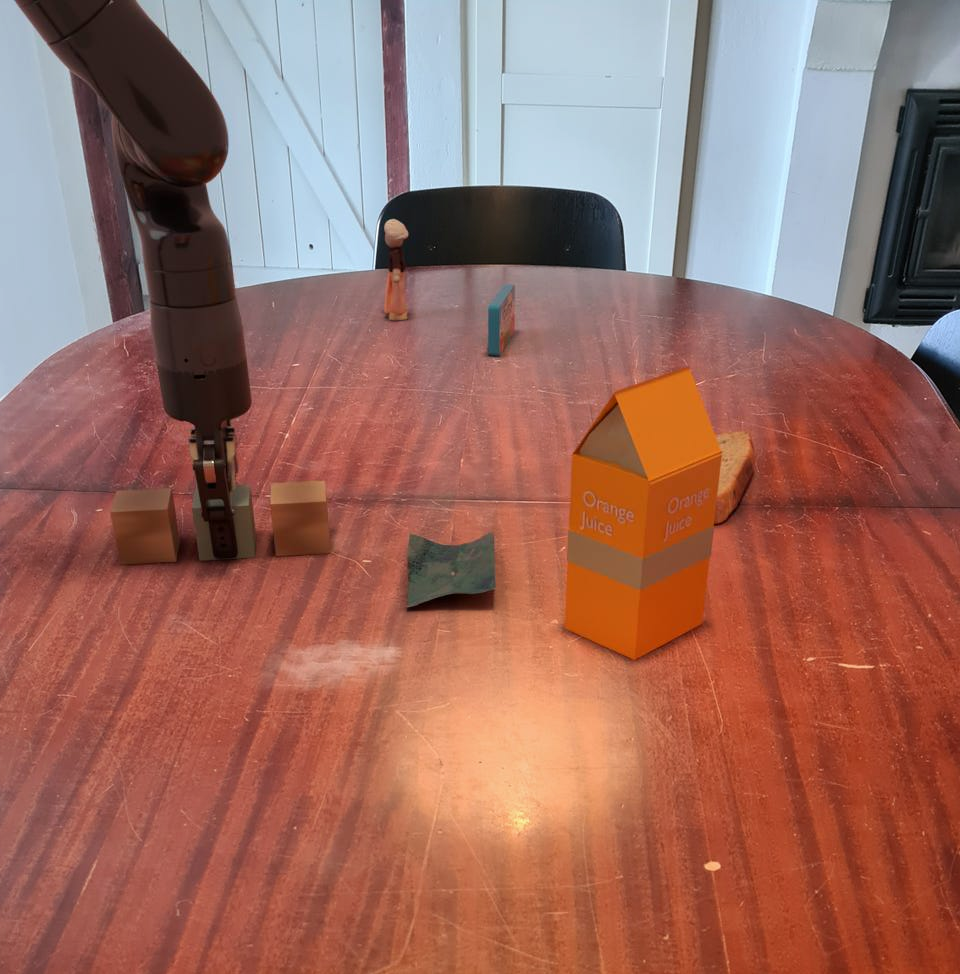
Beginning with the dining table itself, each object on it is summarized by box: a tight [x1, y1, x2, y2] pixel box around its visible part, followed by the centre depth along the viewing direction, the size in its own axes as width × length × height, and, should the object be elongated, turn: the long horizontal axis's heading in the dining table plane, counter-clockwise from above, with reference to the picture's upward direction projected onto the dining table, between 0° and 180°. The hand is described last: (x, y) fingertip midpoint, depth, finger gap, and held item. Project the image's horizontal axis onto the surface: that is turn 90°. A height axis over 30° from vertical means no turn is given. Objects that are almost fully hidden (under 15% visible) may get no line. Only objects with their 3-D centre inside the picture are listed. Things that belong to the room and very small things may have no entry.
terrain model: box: [406, 531, 497, 608], centre depth 109 cm, size 13×8×2 cm, turn 0°
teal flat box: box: [487, 283, 516, 357], centre depth 164 cm, size 12×2×6 cm, turn 169°
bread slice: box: [714, 429, 757, 525], centre depth 126 cm, size 18×18×4 cm
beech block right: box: [269, 480, 332, 557], centre depth 114 cm, size 5×5×5 cm
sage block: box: [191, 484, 257, 561], centre depth 113 cm, size 5×5×5 cm
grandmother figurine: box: [383, 218, 409, 321], centre depth 173 cm, size 8×4×13 cm, turn 10°
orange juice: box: [564, 365, 723, 661], centre depth 96 cm, size 8×9×20 cm
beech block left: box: [109, 487, 181, 566], centre depth 112 cm, size 5×5×5 cm
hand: (227, 543), depth 114 cm, fingers closed on sage block, 5 cm apart
